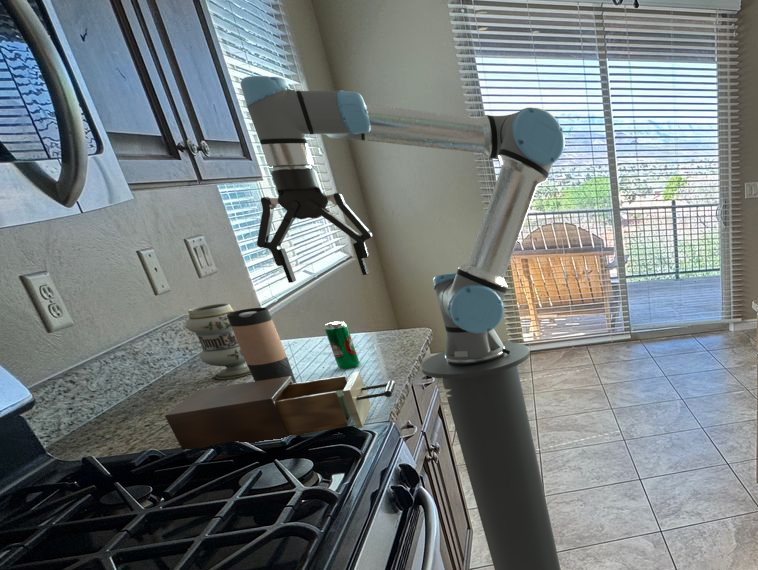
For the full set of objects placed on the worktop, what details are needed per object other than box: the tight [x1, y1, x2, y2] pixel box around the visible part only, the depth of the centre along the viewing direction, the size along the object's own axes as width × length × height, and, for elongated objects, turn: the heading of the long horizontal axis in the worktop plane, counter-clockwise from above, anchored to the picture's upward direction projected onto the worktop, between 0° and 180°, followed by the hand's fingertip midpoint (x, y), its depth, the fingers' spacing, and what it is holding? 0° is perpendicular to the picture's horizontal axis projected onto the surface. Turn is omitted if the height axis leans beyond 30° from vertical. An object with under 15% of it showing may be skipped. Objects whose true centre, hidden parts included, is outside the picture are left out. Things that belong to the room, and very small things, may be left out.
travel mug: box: [227, 307, 297, 383], centre depth 130 cm, size 8×8×20 cm
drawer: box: [275, 370, 396, 437], centre depth 114 cm, size 21×13×8 cm, turn 113°
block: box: [320, 390, 350, 417], centre depth 114 cm, size 4×4×4 cm
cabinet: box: [164, 376, 293, 461], centre depth 109 cm, size 16×14×10 cm
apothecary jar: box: [185, 303, 252, 380], centre depth 148 cm, size 12×12×18 cm
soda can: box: [324, 320, 361, 370], centre depth 149 cm, size 5×5×12 cm
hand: (329, 277), depth 120 cm, fingers open, 13 cm apart
